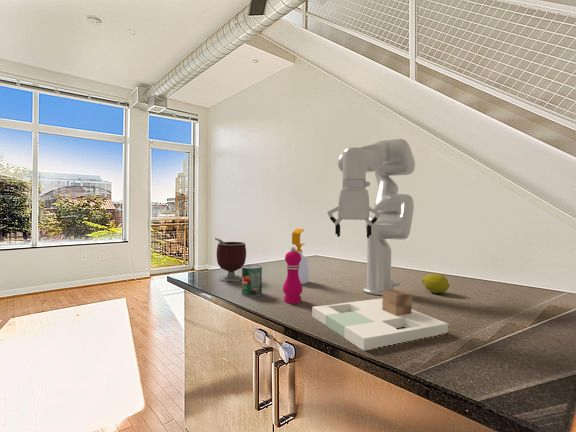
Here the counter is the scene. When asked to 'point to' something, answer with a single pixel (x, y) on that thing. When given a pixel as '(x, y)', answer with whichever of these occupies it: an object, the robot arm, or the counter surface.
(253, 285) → the canned tomato
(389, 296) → the walnut block
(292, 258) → the pepper mill
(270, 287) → the counter surface
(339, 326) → the board
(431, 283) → the lemon
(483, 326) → the counter surface
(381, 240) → the robot arm
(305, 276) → the soap bottle
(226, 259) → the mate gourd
